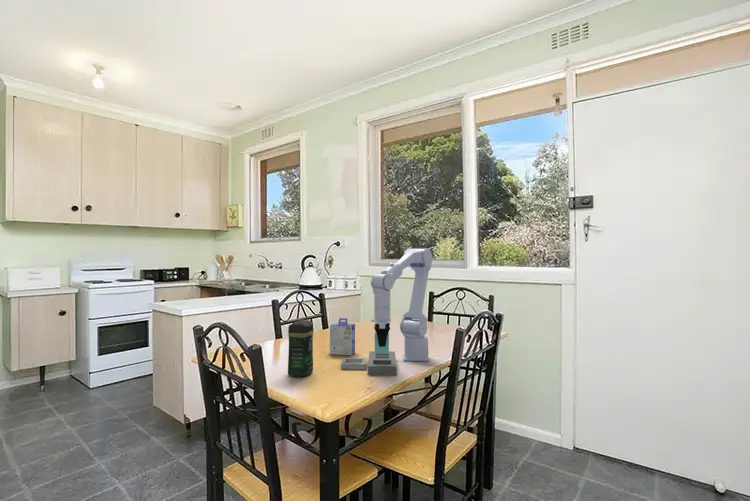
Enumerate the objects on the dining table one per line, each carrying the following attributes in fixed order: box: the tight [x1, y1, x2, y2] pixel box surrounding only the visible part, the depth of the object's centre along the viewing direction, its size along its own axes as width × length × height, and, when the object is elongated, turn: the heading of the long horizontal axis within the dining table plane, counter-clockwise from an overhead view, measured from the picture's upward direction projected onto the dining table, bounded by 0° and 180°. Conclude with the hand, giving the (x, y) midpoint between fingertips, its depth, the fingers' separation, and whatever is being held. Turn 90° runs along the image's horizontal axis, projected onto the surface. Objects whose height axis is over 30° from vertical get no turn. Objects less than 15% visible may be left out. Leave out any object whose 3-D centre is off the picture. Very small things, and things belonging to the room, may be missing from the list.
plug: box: [374, 331, 390, 354], centre depth 144 cm, size 5×4×8 cm
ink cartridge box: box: [329, 317, 356, 356], centre depth 168 cm, size 10×6×14 cm, turn 78°
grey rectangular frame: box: [340, 357, 367, 371], centre depth 150 cm, size 9×8×2 cm
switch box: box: [367, 350, 398, 376], centre depth 149 cm, size 10×20×3 cm, turn 179°
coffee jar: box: [287, 319, 314, 378], centre depth 141 cm, size 10×8×19 cm
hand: (382, 344), depth 144 cm, fingers closed on plug, 4 cm apart
